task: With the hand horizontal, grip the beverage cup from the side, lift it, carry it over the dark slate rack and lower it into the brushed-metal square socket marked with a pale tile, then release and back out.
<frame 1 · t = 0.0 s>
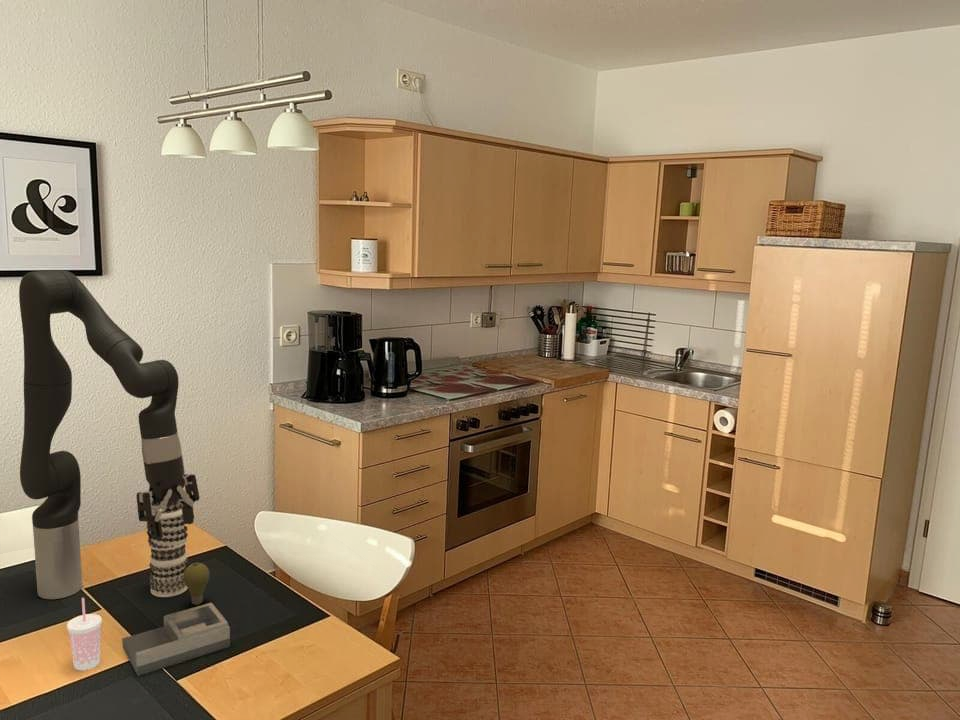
hand: (173, 530, 158), 22 cm above the table, tool pointing down, fingers open, 8 cm apart
light bulb: (197, 605, 171), on the table
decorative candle: (169, 589, 178), on the table
rack: (176, 647, 154), on the table
beverage cup: (87, 664, 148), on the table
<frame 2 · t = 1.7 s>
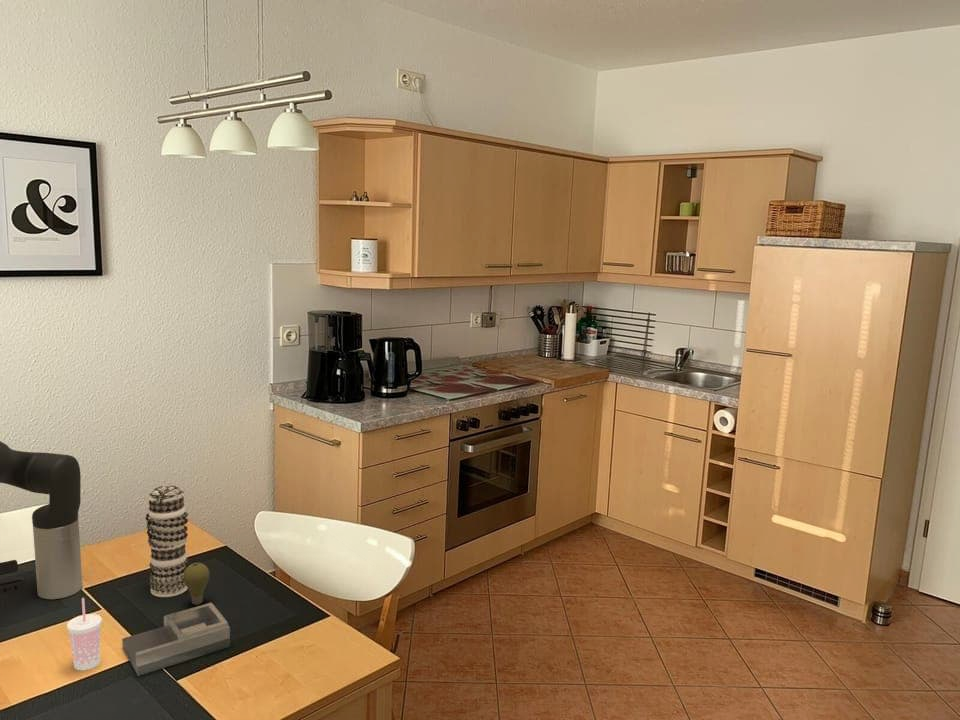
hand: (20, 574, 138), 22 cm above the table, tool horizontal, fingers open, 8 cm apart
nothing on the table moved.
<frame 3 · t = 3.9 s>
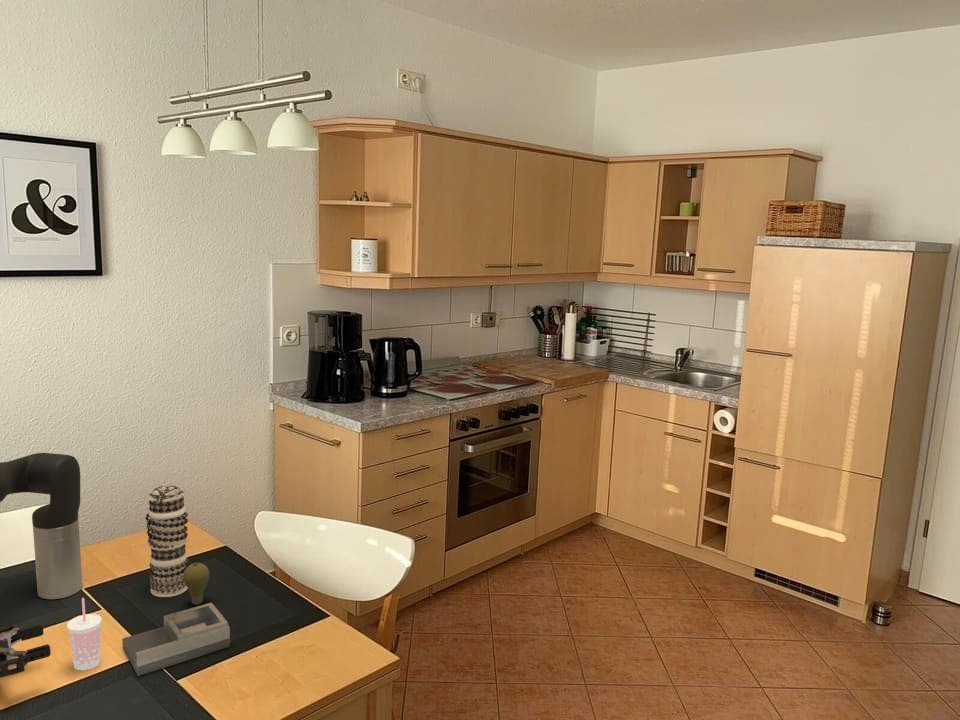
hand: (46, 639, 142), 7 cm above the table, tool horizontal, fingers open, 8 cm apart
nothing on the table moved.
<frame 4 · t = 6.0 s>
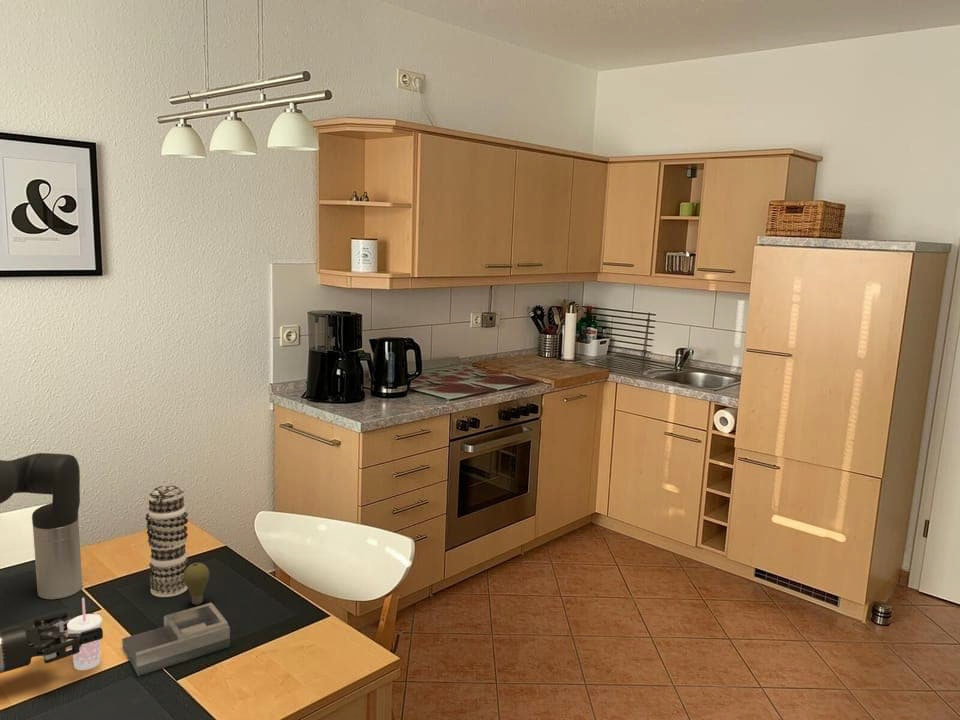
hand: (98, 624, 148), 8 cm above the table, tool horizontal, fingers closed on beverage cup, 6 cm apart
beverage cup: (87, 664, 148), on the table, touching gripper
everything else where it was.
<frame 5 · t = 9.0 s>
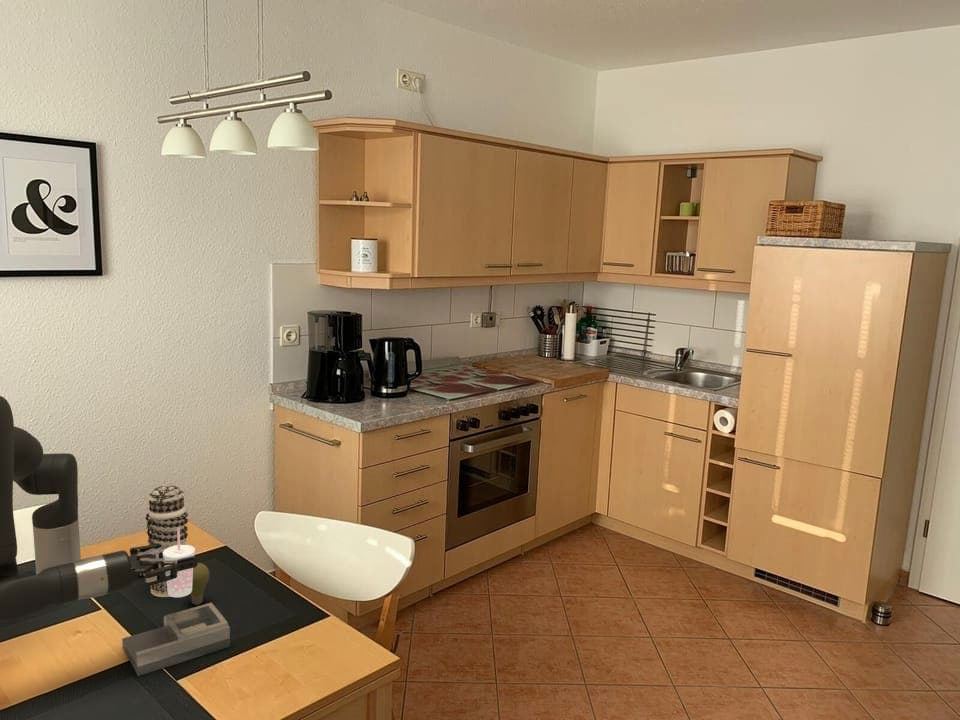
hand: (191, 554, 153), 20 cm above the table, tool horizontal, fingers closed on beverage cup, 6 cm apart
beverage cup: (179, 592, 153), point 12 cm above the table, touching gripper
everything else where it was.
when the fingers open (11 cm above the table, at t = 12.0 s): beverage cup stays where it is, resting on rack.
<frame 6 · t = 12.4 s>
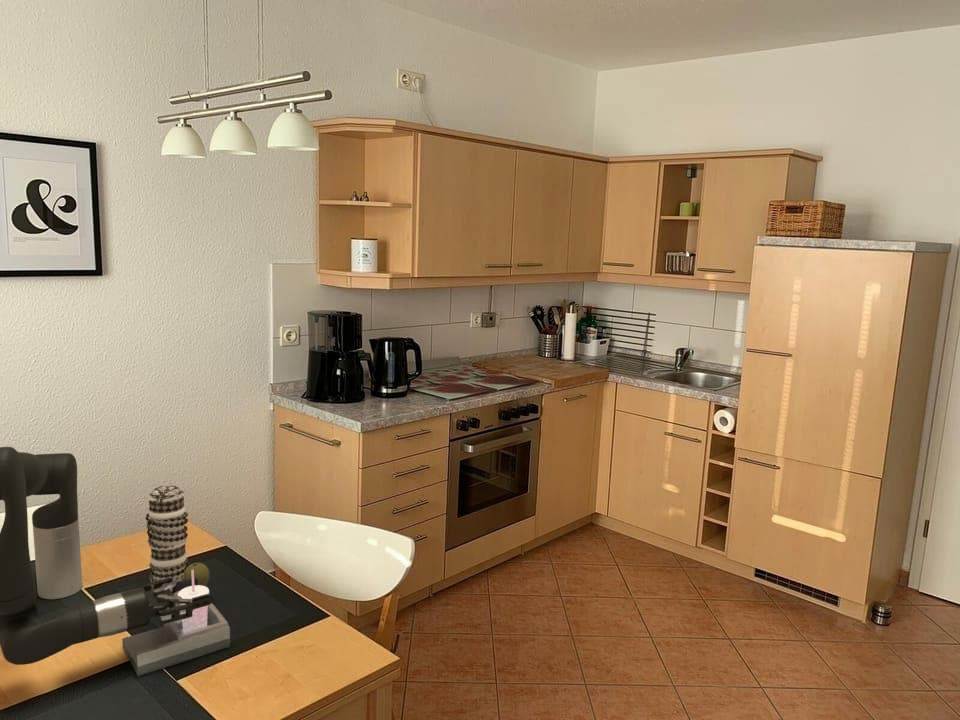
hand: (204, 590, 156), 11 cm above the table, tool horizontal, fingers open, 8 cm apart
beverage cup: (195, 632, 156), point 2 cm above the table, touching rack
everything else where it was.
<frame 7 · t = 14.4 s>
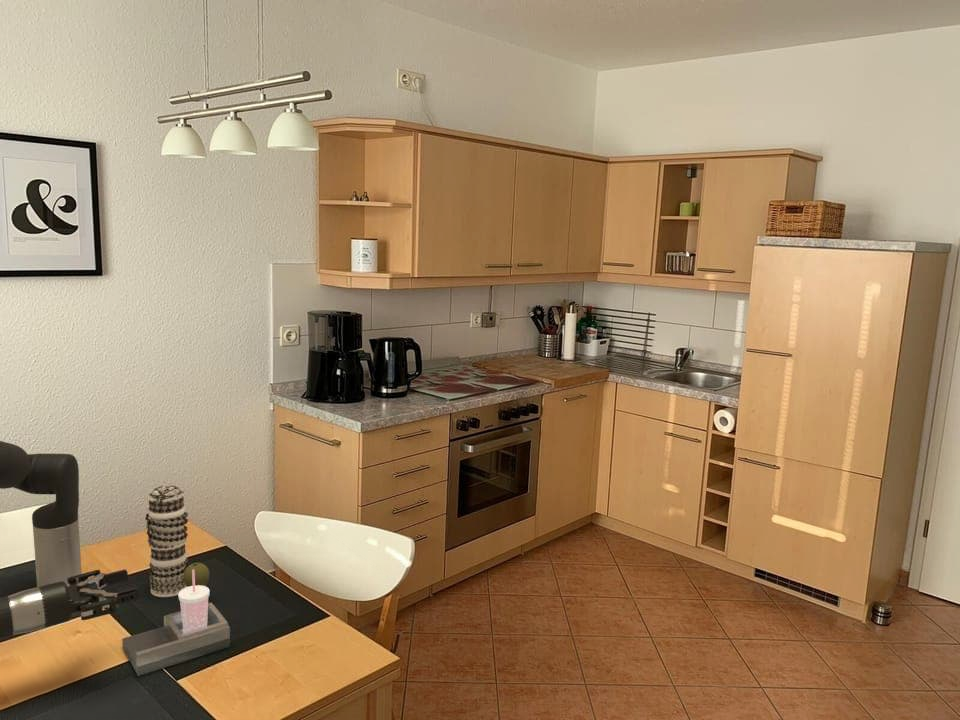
hand: (132, 583, 148), 16 cm above the table, tool horizontal, fingers open, 8 cm apart
nothing on the table moved.
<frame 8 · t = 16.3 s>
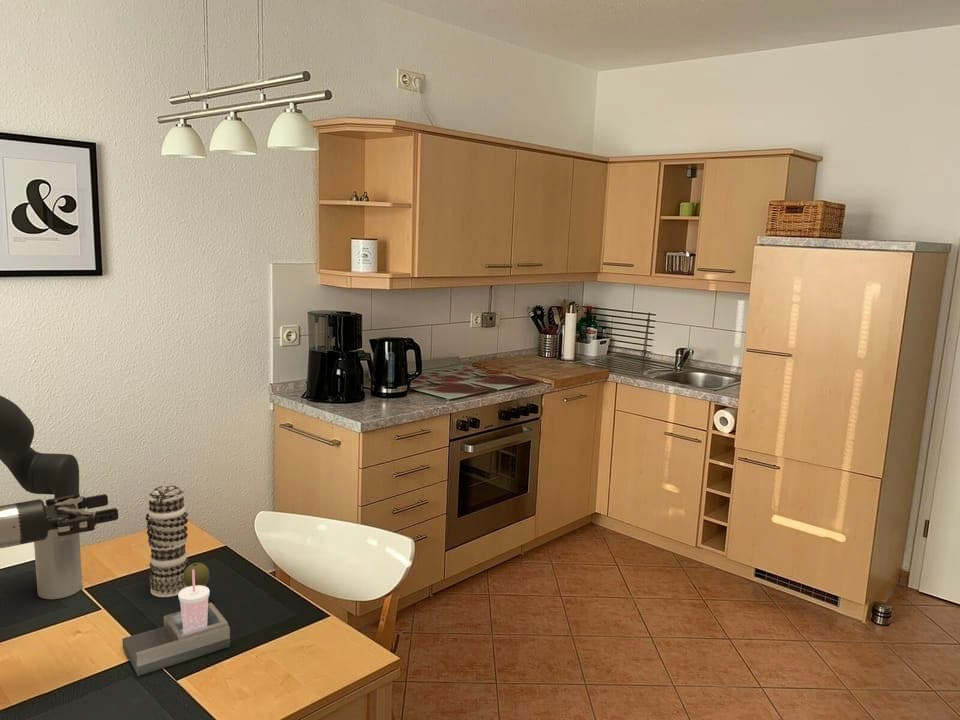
hand: (112, 506, 145), 32 cm above the table, tool horizontal, fingers open, 8 cm apart
nothing on the table moved.
at the end: beverage cup 0.2 cm from the target spot on the rack, point 2.0 cm above the rack's base; beverage cup tilted 0°; the gripper is holding nothing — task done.
